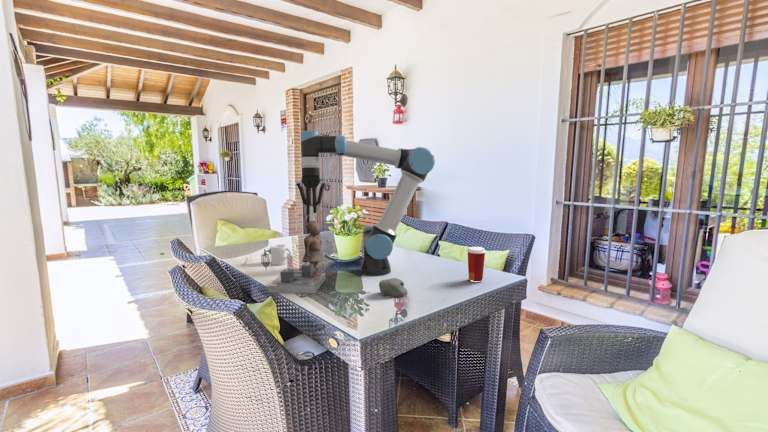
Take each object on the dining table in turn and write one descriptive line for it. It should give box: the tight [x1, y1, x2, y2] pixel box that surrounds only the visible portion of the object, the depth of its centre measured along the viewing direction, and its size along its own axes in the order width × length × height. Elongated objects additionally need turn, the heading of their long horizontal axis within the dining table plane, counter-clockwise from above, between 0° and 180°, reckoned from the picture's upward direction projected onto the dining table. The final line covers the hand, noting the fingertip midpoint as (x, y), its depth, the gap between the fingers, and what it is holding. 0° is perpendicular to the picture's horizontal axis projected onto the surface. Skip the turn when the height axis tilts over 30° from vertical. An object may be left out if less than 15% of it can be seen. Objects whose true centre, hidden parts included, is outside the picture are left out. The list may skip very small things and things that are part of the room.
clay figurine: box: [302, 220, 325, 271], centre depth 192 cm, size 13×10×25 cm
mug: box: [270, 244, 292, 266], centre depth 206 cm, size 8×12×10 cm, turn 67°
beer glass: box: [466, 246, 487, 281], centre depth 172 cm, size 8×8×15 cm
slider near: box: [280, 266, 295, 282], centre depth 163 cm, size 4×5×6 cm
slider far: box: [301, 262, 314, 276], centre depth 172 cm, size 4×5×6 cm
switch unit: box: [267, 270, 327, 294], centre depth 168 cm, size 20×20×4 cm
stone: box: [378, 277, 409, 298], centre depth 155 cm, size 9×9×10 cm
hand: (312, 220), depth 169 cm, fingers closed
